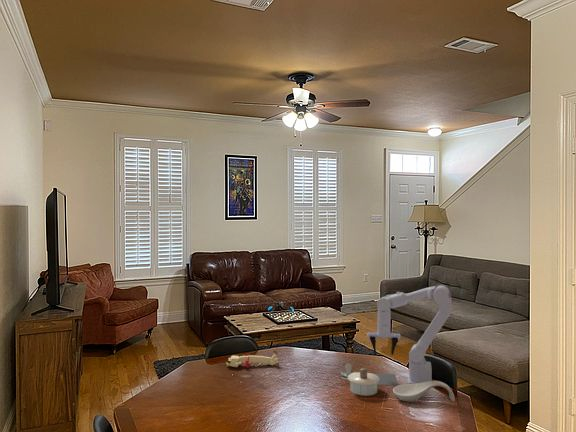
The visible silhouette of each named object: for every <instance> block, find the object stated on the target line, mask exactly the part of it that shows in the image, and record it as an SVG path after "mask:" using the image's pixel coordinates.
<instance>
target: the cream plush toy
mask: <svg viewBox="0 0 576 432" xmlns="http://www.w3.org/2000/svg"><path fill="white" fill-rule="evenodd" d="M272 353H273V355H272V356H271V357H270V356H264V355H250V354H249V353H248V352H247V354H246V355H242V356H241V355H240V356H239V355H231V356H230V357H228V358H227V361H226V362H225V364H226V366H227V367H234V368H238V367H239V366H240V365H241V364H245V365H244V366H246V368H247V369H248V368H249V364H251V363H253V364H262V365H269V366H274V365H275V366H276V367H279V359H278V358H277V356H279V352H278V351H277V350H276V349H272Z"/></svg>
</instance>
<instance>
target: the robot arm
mask: <svg viewBox="0 0 576 432" xmlns="http://www.w3.org/2000/svg"><path fill="white" fill-rule="evenodd" d="M423 298H426V299H428V300H432V299H433V300H434V302H435V304H437V307H438V308H437V309H438V311H437V314H436V315H435V316H434V318H433V319H432V321H431V322H430V323H429V325H428V326H427V328H426V329H425V331H424V333H423V334H422V335H421V337H420V338H419V340H418V341H417V342H416V343H414V344H413V345H412V346H411V349H410V351H409V352H408V358H409V359H408V376H407V377H406V379H407V380H408V384H415V383H422V382H428V381H433V380H432V377H433V376H432V370H433V369H432V363H431V361H427V360H426V358H425V356H426V354H427V350H428V349H429V347H430V345H431V344H432V342H433V341H434V339H435V337H437V335H438V333H439V332H440V330H441V328H442V327H443V326H444V324H445V323H446V322H447V320H448V318H449V317H450V315H451V313H452V312H453V311H452V294H451V292H450V289H449V288H448V286H446V285H444V284H439V285H437V286H436V285H434V286H429V287H425V288H421V289H418V290H416V291H412V292H409V293H404V292H403V291H402V292H400V291H396V293H394V294H391V295H389V294H387V295H386V296H381V298H379V299H378V300H377V301H376V307H377V331H375V332H374V331H373V332H367V333H366V334H367V335H366V336H367V338H369V340H370V343H371V345H372V350H373V354H374V355H376V353H377V350H376V348H377V347H376V345H377V344H376V343H377V340H376V339H377V338H378V339H391V350H390V354H391V355H392V356H394V352H395V348H396V346H397V344H398V342H399V340H401V334H400V333H393V332H391V321H392V320H391V319H392V318H391V316H392V315H391V309H395V308H398V307H403V306H406V305H407V304H408V302H409V301H414V300H420V299H423Z"/></svg>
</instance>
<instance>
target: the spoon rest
mask: <svg viewBox="0 0 576 432" xmlns="http://www.w3.org/2000/svg"><path fill="white" fill-rule="evenodd" d="M434 387H442V388H444V389H445V390H447V392H448V395H449V397H448V398H449V399H450V401H451V402H452V403H455V402H456V399H455V394H454V392H453V390H452V389H451V387H450V386H449V385H448V384H446V383H445V382H443V381H440V380H432V381H428V382H422V383H415V384H410V383H408V384H407V383H406V384H404V383H403V384H398V386H397V385H395V386H394V387H393V389H392V392H393V394H394V395H395V396H396V397H397V398H398V399H399V400H401V401H404V402H408V403H412V402H413V403H415V402H417V401H418V400H420V399H421V397H423V396H424V395H425V394H426V393H427V392H428V391H430V389H432V388H434Z"/></svg>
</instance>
